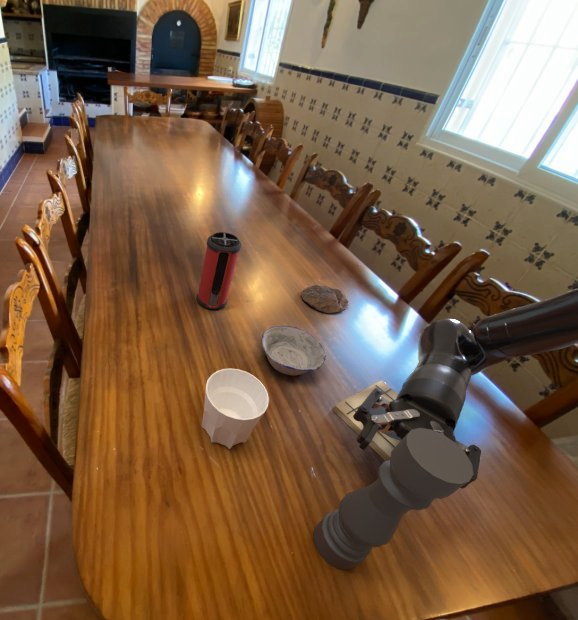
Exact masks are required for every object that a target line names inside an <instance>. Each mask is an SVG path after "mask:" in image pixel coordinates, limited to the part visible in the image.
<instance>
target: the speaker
mask: <svg viewBox="0 0 578 620" xmlns="http://www.w3.org/2000/svg"><path fill="white" fill-rule="evenodd" d="M241 249H242V242H241V241H240V240H239V238H238V237H237V236H236V235H235V234H232V233H230V232H226V231H225V232H223V231H219V232H214V233H213V234H211V235H210V236H208V238H207V239H206V249H205V254H204V261H203V266H202V270H201V277H200V281H199V288H198V293H197V295H196V301H197V303H198V304H199V305H200V306H202V307H203V308H205V309H210V310H220V309H223V308H224V307H225V306H227V303H228V297H229V292H230V289H231V284H232V282H233V277H234V274H235V269H236V265H237V261H238V257H239V254H240V251H241Z"/></svg>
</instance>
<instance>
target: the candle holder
mask: <svg viewBox="0 0 578 620" xmlns="http://www.w3.org/2000/svg"><path fill="white" fill-rule="evenodd" d="M472 476H473V468H472V463H471V462H470V460H469V458H468V457H467V455H466V453H465V452H464V451H463V450H462V449H461V448H460V447H459V446H458V445H457V444H456V443H455V442H453V441H452V440H450V439H449V438H448V437H446V436H445V435H443V434H441V433H438V432H436V431H433V430H431V429H424V428H417V429H413V430H411V431H410V432H409V433H408V434H407V435H406V436H405V437H404V438H403V439H402V440H401V441H400V442H399V443H398V444H397V445H396V446H395V448H394V449H393V450H392V451H391V457H390V460H388V461H385V460H384V461H383V462H382V464H381V465H380V466H379V467H378V471H377V479H376V480H375V481H374V482H373V483H372V484H369V485H367V486H364V487H361V488H359V489H356V490H352V491H350V492H348V493H345V495H344V496H343V497H342V499H340V501H339V504H338V509H333V510H332V511H330V512H327V513H326V514H325V515H324V516H323V517H322V519H321V520H319V522H318V523H317V524H316V525H315V526H314V529H313V535H312V537H313V542H314V546H315V548H316V550H317V552H318V554H319V556H320V557H322V559H323V560H324V561H325V563H327V564H329V565H330V566H332V567H334V568H335V569H337V570H343V571H349V570H352V569H354V568H356V567H357V566H359V565H360V564H361V563H362V562H364V561H366V559H367V557H368V556H369V554H370V553H371V552H372V550H373V548H380V547H383V546H386V545H387V544H389V543H390V542H391V540H392V539H393V537H394V536H395V533H396V531H397V529H398V527H399V524H400V522H401V521H402V519H403V517H404V515H406V514H407V513H408V512H409V511H421V510H425V509H428V508H429V507H430V506H431V505H432V503H433V501H434V500H436V499H437V500H441V499H444V498H448V497H450V496H451V495H452V494H454V493H456V492H457V491H458V490H460V489H462V488H461V487H462V486H464V485H465V484H466V483H468V482H469V481H470V479H471V478H472Z"/></svg>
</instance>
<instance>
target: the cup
mask: <svg viewBox="0 0 578 620" xmlns="http://www.w3.org/2000/svg"><path fill="white" fill-rule="evenodd" d="M204 391H205V392H204V401H203V403H204V404H203V413H202V418H201V426H200V427H201V428H202V429H204V430H205V432H206V433H207V435H208V436H209V438H210V443H211V444H212V443H217V444H220V445H223V446H225V447H226V448H227V449H229V450H231V449H232V448H233V446H236V445H238V444H240V443H247V441H248V440H249V437H250V436H251V435H252V433H253V432H254V429H255V428H256V426H257V425H258V423H259V422H260V420H261V419H262V417H263V415H264V414H265V412H266V411H267V409H268V407H269V403H270V397H269V392H268V390H267V388H266V387H265V385H264V384H263V383H262V382H261V380H260V379H259V378H257V377H256V376H255V375H253V374H252V373H250V372H248V371H245V370H242V369H239V368H231V367H230V368H222V369H219V370H216V371H215V372H213V373H212V374H210V376H209V377H208V378H207V381H206V385H205V390H204Z"/></svg>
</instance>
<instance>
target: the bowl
mask: <svg viewBox="0 0 578 620" xmlns="http://www.w3.org/2000/svg"><path fill="white" fill-rule="evenodd" d="M261 346H262V350H263V351H264V354H265V355H266V358H267V360H268V363H269V364H270V365H271V367H272V368H273V369H274V370H276V371H277V372H279V373H280V374H283V375H287V376H292V377H293V376H299V375H300V376H301V375H304V374H306V373H307V374H308V372H315V371H316V370H319V369H321V367H322V366H323V365H324V363H325V361H326V357H327V354H326V353H325V352H326V351H325V349H324V347H323V345H322V344H321V342H320V341H319V340H318V339H317V338H316V337H315V336H313V335H312V334H311V333H309V332H308V331H305V330H304V329H300V328H298V327H297V326H289V325H275V326H271V327H270V328H268V329H266V330H265V331H264V332H263V333H262V336H261Z"/></svg>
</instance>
